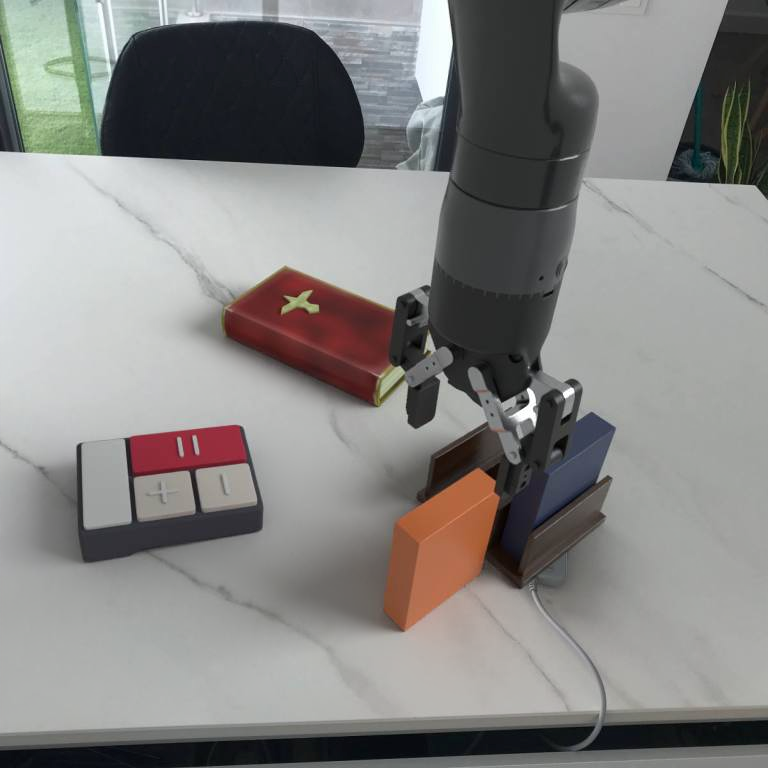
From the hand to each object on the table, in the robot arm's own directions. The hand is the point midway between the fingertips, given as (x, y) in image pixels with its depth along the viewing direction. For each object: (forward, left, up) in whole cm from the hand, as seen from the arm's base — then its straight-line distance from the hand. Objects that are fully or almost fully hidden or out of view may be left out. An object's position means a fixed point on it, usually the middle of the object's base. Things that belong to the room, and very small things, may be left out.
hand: (462, 455), depth 55 cm
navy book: (-2, -12, -15) cm, 19 cm away
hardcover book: (+32, -14, -16) cm, 38 cm away
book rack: (+2, -12, -16) cm, 20 cm away
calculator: (+22, +12, -16) cm, 30 cm away
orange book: (0, 0, -16) cm, 16 cm away
